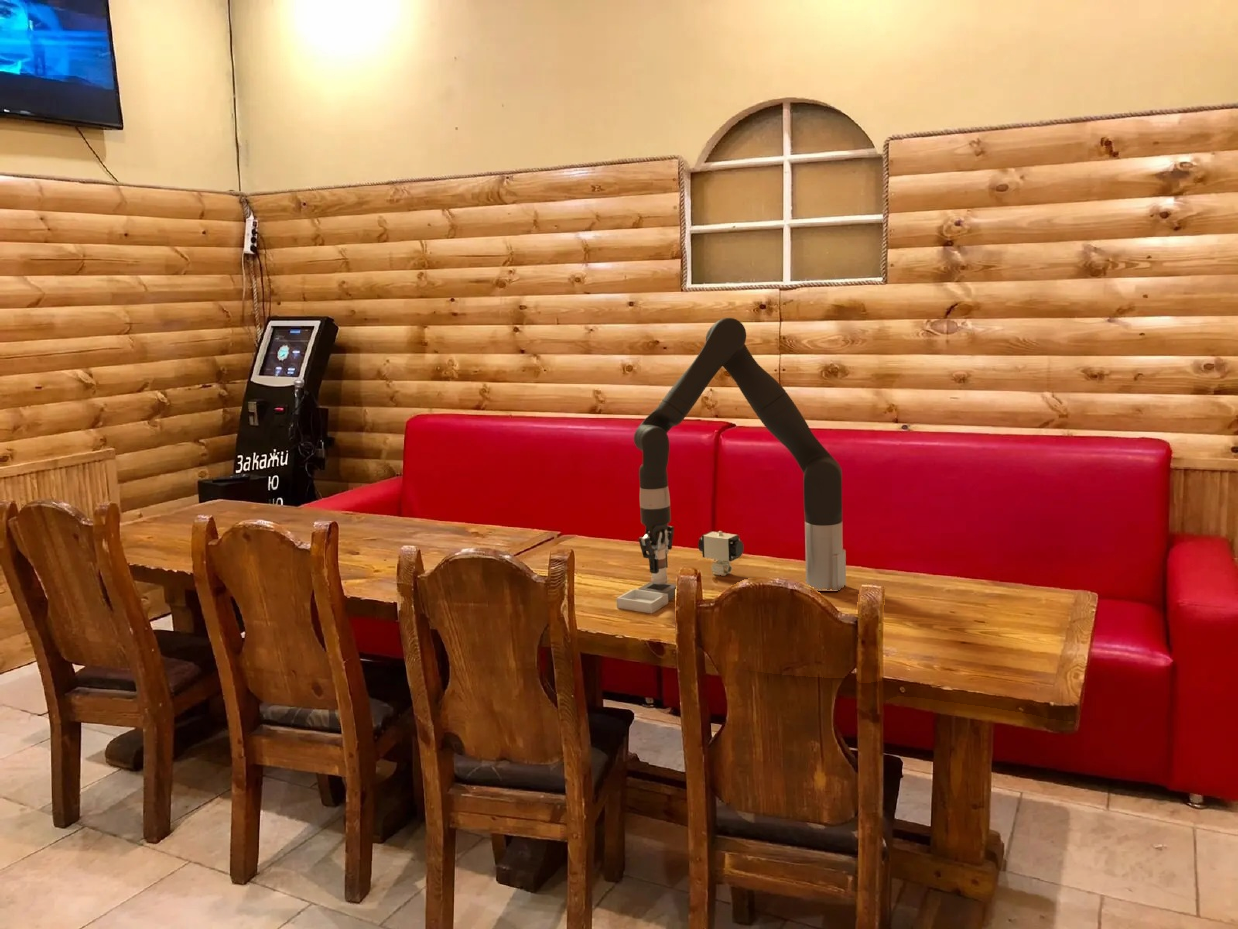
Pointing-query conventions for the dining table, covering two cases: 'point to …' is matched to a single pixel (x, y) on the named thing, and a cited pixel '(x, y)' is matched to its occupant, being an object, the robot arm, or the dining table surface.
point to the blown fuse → (660, 566)
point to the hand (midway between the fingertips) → (658, 570)
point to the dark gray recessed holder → (661, 588)
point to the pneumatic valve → (721, 550)
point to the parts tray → (642, 600)
